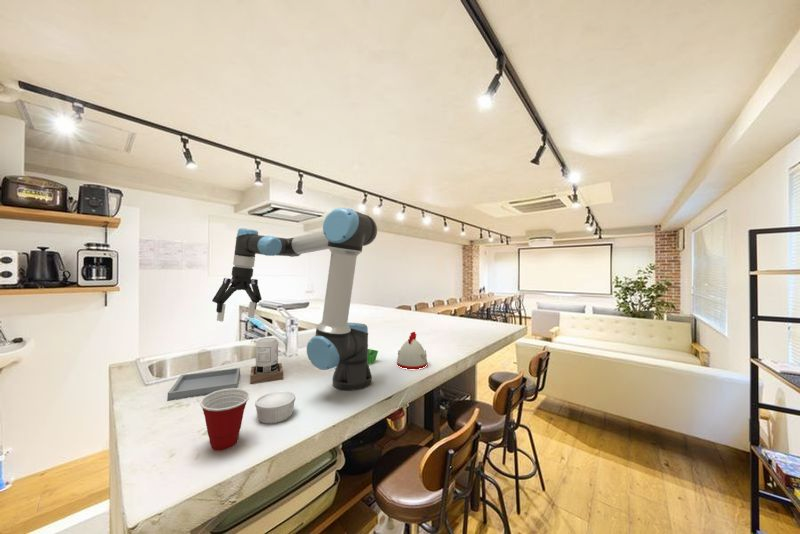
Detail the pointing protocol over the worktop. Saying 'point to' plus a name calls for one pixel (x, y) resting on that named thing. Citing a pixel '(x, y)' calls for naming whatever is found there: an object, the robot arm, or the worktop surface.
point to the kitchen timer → (412, 354)
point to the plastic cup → (224, 416)
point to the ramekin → (275, 406)
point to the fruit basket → (371, 355)
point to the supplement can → (266, 356)
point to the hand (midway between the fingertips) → (236, 319)
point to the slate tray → (204, 383)
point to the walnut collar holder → (266, 375)
